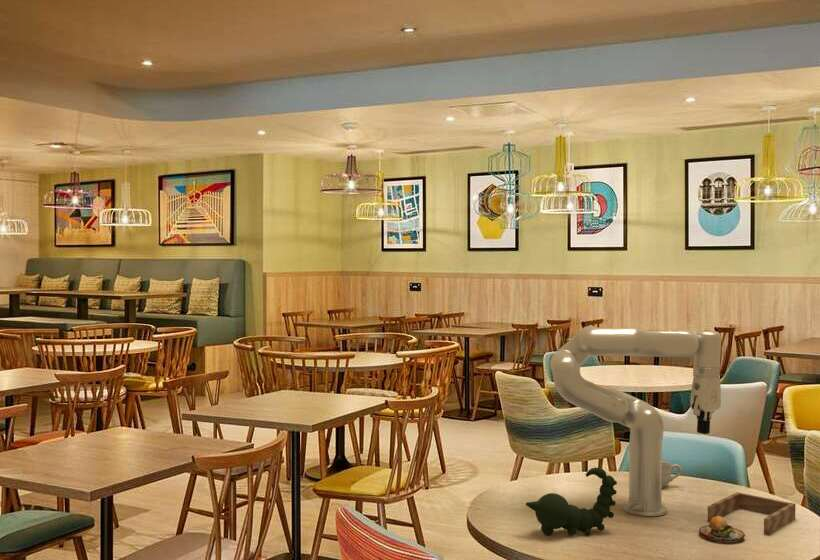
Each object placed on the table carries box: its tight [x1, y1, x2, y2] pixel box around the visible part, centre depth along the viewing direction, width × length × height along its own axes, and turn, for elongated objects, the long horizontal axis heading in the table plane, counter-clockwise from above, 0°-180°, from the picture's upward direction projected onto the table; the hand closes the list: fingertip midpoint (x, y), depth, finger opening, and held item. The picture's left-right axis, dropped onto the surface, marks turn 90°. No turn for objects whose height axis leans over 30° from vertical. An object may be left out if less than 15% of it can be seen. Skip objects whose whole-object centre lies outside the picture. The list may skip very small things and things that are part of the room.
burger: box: [698, 513, 746, 545], centre depth 234 cm, size 12×12×8 cm
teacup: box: [662, 460, 683, 488], centre depth 285 cm, size 14×11×8 cm
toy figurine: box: [525, 467, 618, 537], centre depth 237 cm, size 10×19×26 cm
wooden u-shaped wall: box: [707, 491, 796, 536], centre depth 248 cm, size 20×17×4 cm
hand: (703, 433), depth 255 cm, fingers closed
